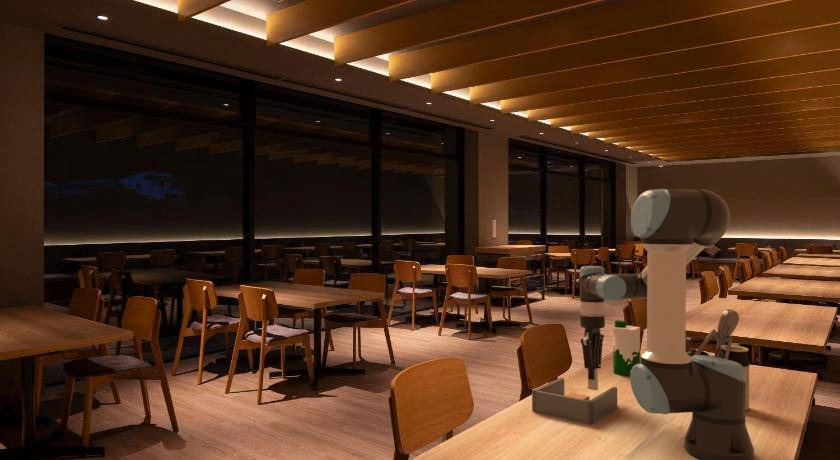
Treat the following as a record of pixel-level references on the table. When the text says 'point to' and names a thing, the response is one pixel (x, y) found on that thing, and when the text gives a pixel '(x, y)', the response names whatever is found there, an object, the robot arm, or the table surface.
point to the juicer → (723, 332)
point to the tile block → (578, 396)
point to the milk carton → (625, 347)
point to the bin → (572, 403)
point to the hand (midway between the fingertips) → (593, 389)
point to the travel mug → (740, 357)
